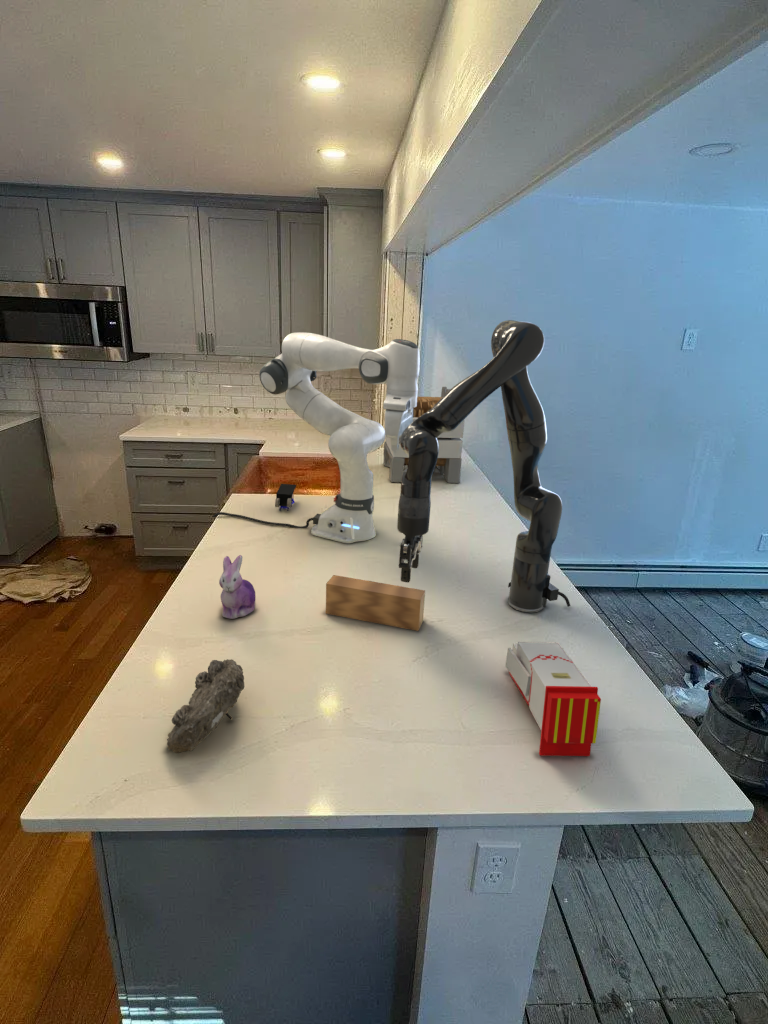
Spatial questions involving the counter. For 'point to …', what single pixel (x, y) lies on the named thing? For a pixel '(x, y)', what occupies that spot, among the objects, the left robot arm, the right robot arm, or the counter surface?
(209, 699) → the fossil
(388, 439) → the grey crate
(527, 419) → the right robot arm
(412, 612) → the bar
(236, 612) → the figurine
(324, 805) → the counter surface
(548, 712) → the toy
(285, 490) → the figurine character
